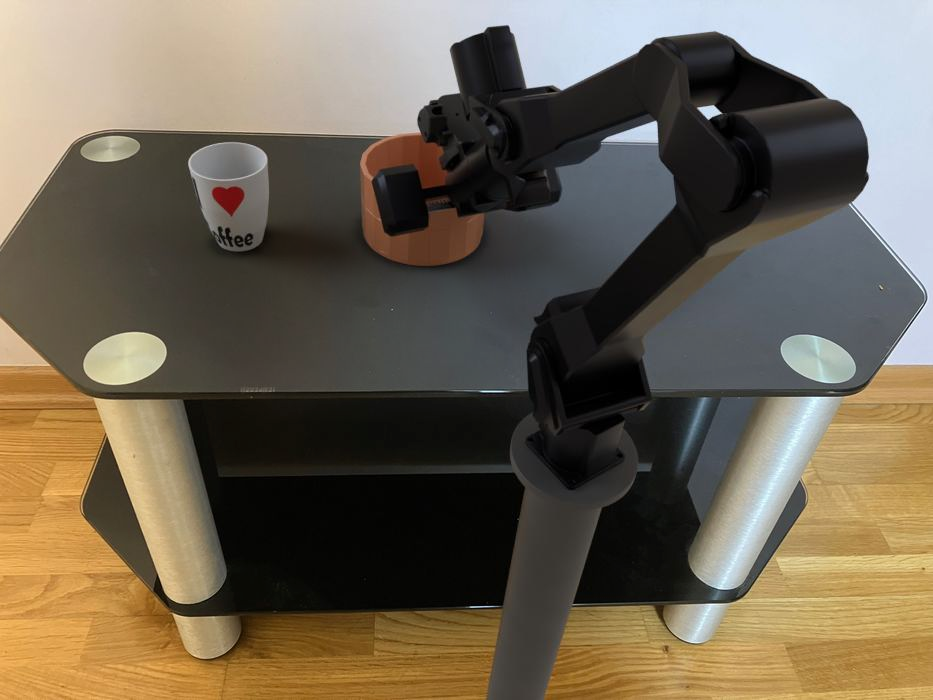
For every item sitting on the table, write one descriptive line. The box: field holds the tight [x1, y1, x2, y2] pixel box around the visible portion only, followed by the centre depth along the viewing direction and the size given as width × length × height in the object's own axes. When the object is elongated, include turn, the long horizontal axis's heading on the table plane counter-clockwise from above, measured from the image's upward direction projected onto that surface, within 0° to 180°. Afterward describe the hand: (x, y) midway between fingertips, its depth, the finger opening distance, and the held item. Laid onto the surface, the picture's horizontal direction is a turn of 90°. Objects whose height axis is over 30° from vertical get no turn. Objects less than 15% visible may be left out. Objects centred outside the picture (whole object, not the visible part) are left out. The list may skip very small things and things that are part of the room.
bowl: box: [359, 132, 485, 267], centre depth 90 cm, size 14×14×9 cm
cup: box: [187, 141, 270, 252], centre depth 86 cm, size 8×8×10 cm
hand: (444, 207), depth 85 cm, fingers open, 9 cm apart
